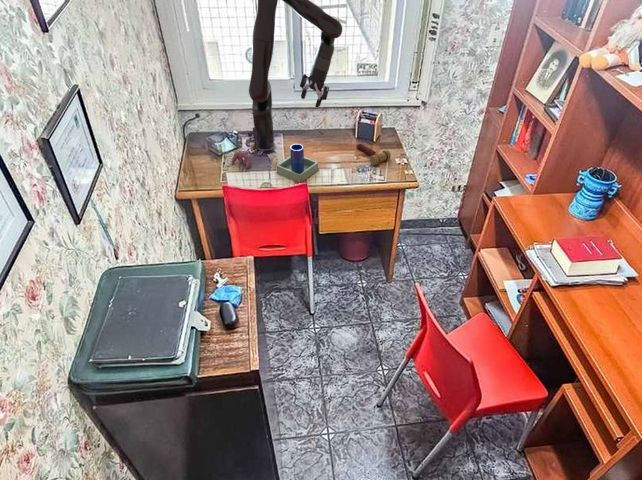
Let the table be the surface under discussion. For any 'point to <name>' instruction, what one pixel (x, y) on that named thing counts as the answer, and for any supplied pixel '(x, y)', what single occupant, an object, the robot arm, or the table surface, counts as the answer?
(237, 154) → the video game controller
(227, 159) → the table surface
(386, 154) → the gavel
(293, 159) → the pencil cup
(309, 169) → the bin
